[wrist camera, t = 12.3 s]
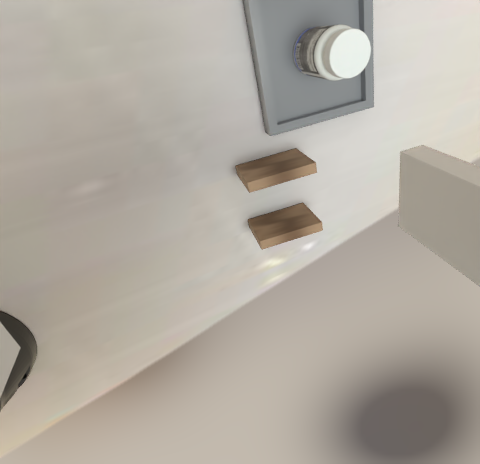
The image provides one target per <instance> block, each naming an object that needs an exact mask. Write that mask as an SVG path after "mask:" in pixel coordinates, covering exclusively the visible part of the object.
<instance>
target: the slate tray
mask: <svg viewBox="0 0 480 464" xmlns="http://www.w3.org/2000/svg"><path fill="white" fill-rule="evenodd" d="M243 4H244V9H245V15H246V21H247V27H248V33H249V38H250V44H251V50H252V56H253V62H254V68H255V73H256V79H257V85H258V91H259V97H260V102H261V108H262V114H263V120H264V126H265V131H266V133H267V134H268V135H270V136H273V135H277V134H280V133H284V132H287V131H291V130H295V129H298V128H302V127H305V126H309V125H312V124H316V123H319V122H323V121H326V120H330V119H333V118H337V117H340V116H344V115H347V114H351V113H354V112H358V111H361V110H365V109H368V108H372V107H374V76H373V0H243ZM339 24H340V25H346V26H349V27H351V28H354V29H359V30H361V31H363V32H364V33H365V34H366V35H367V37H368V39H369V41H370V45H371V54H370V58H369V61H368V63H367V65H366V67H365V68H364V70H363V71H362V72H361V73H359V74H358V75H357V76H355V77H352V78H347V79H344V78H343V79H341V80H336V81H332V80H327V79H322V78H318V77H312V76H308V75H305V74H304V73H302V72H301V71H300V70H299V69H298V68H297V66H296V65H295V62H294V57H293V50H294V45H295V43H296V40H297V39H298V37H299V36H300V35H301V33H302V32H304V31H305V30H307V29H309V28H312V27H320V26H331V25H339Z"/></svg>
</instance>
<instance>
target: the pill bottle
mask: <svg viewBox="0 0 480 464" xmlns="http://www.w3.org/2000/svg"><path fill="white" fill-rule="evenodd" d="M370 54H371V45H370V41H369V39H368V37H367V35H366V34H365V33H364V32H363V31H361V30H359V29H354V28H351V27H349V26H346V25H340V24H339V25H331V26H320V27H312V28H309V29H307V30H305V31H304V32H302V33H301V35H300V36H299V37H298V39H297V40H296V43H295V45H294V50H293V57H294V62H295V65H296V66H297V68H298V69H299V70H300V71H301V72H302V73H304V74H305V75H308V76H312V77H318V78H322V79H327V80H332V81H336V80H341V79H343V78H344V79H347V78H352V77H355V76H357V75H358V74H359V73H361V72H362V71H363V70H364V68H365V67H366V65H367V63H368V61H369V58H370Z"/></svg>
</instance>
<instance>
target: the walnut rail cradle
mask: <svg viewBox="0 0 480 464" xmlns="http://www.w3.org/2000/svg"><path fill="white" fill-rule="evenodd" d="M235 167H236V171H237V175H238V176H239V178H240V179H241V181H242V182H243V184H244V185H245V187H246V188H247V190H248V191H249V193H250V192H253V191H257V190H260V189H263V188H267V187H270V186H273V185H277V184H280V183H283V182H287V181H290V180H294V179H297V178H300V177H304V176H307V175H310V174H314V173H317V170H316V162H314V161H313V160H311V159H310V158H309V157H307V156H306V155H305V154H303V153H302V152H300V151H299V150H298V149H296V148H295V149H292V150H288V151H285V152H281V153H278V154H275V155H271V156H268V157H264V158H261V159H257V160H254V161H250V162H247V163H243V164H240V165H237V166H235ZM248 223H249V227H250V229H251V231H252V233H253V235H254V236H255V238H256V240H257V242H258V244H259V245H260V247H261V249H265V248H268V247H272V246H275V245H278V244H281V243H284V242H287V241H291V240H294V239H297V238H300V237H303V236H306V235H310V234H313V233H316V232H319V231H322V230H323V228H322V222H321V221H320V220H319V219H318V218H317V217H316V216H315V215H314V214H313V212H312V211H311V210H310V209H309V208H308V207H307V206H306V205H305V204H304V203H300V204H297V205H294V206H291V207H287V208H284V209H281V210H278V211H274V212H271V213H268V214H264V215H261V216H258V217H255V218H251V219H248Z"/></svg>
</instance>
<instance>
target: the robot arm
mask: <svg viewBox="0 0 480 464" xmlns="http://www.w3.org/2000/svg"><path fill="white" fill-rule="evenodd" d="M398 226H399V227H400V228H401V229H403V230H404V231H406V232H407V233H408V234H409V235H411V236H412V237H413V238H415V239H416V240H417V241H419V242H420V243H421V244H423V245H424V246H426V247H427V248H429V249H430V250H431V251H432V252H434V253H435V254H437V255H438V256H439V257H441V258H442V259H443V260H444V261H446V262H447V263H449V264H450V265H451V266H453V267H454V268H455V269H457V270H458V271H459V272H461V273H462V274H463V275H465V276H466V277H467V278H469V279H470V280H471V281H473V282H474V283H476V284H477V285H478V286H480V167H479V166H476V165H474V164H471V163H469V162H466V161H463V160H461V159H458V158H455V157H453V156H450V155H448V154H445V153H442V152H440V151H437V150H435V149H432V148H429V147H427V146H424V145H421V146H418V147H414V148H411V149H408V150H404V151H401V152H400V183H399V216H398ZM36 354H37V346H36V342H35V339H34V337H33V336H32V334H31V332H30V331H29V330H28V329H27V328H26V327H25V326H24V325H23V324H22V323H21V322H19V321H18V320H16V319H15V318H13V317H11V316H9V315H7V314H5V313H3V312H0V411H1V409H2V408H3V407H4V406H5V404H6V403H7V402H8V401H9V400H10V398H11V397H12V396H13V395H14V394H15V392H16V391H17V389H18V388H19V387H20V386H21V385H22V384H23V383H24V382H25V380H26V379H27V378H28V376H29V374H30V372H31V370H32V367H33V364H34V361H35V359H36Z"/></svg>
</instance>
